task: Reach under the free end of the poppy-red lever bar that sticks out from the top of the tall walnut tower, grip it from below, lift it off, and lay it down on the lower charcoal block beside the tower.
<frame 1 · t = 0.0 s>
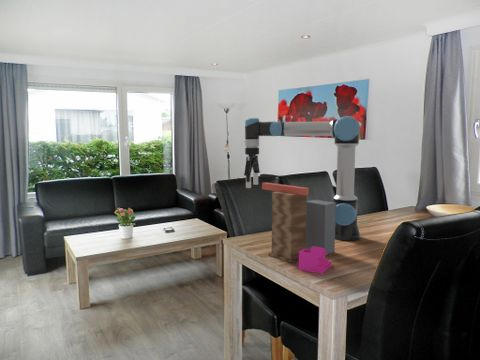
hand: (252, 186, 214), 28 cm above the table, tool pointing down, fingers open, 13 cm apart
lever bar: (284, 191, 181), point 30 cm above the table, touching tower
bracket: (315, 268, 167), on the table
tower: (288, 256, 182), on the table
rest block: (319, 251, 190), on the table
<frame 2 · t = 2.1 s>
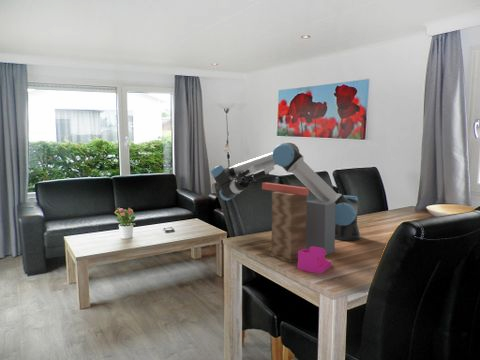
hand: (263, 167, 198), 40 cm above the table, tool pointing upward, fingers open, 13 cm apart
nothing on the table moved.
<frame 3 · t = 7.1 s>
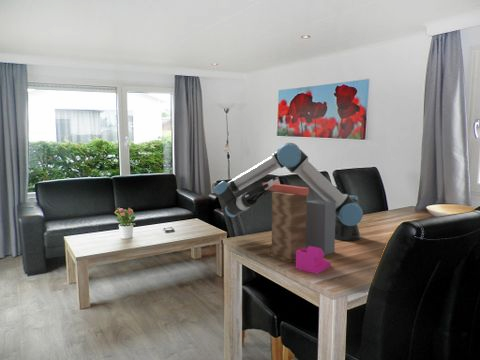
hand: (275, 181, 184), 34 cm above the table, tool pointing upward, fingers closed on lever bar, 3 cm apart
lever bar: (284, 191, 181), point 30 cm above the table, touching gripper, tower
when the fingers open (29 cm above the table, at t = 13.1 s): lever bar stays where it is, resting on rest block.
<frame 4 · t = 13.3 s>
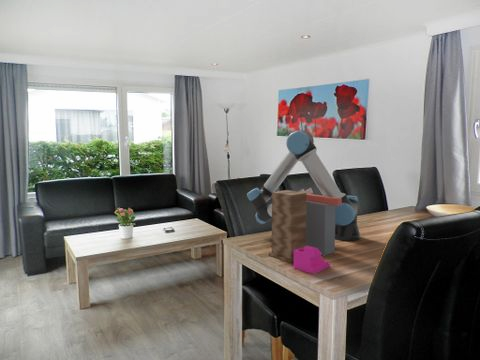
hand: (307, 190, 192), 29 cm above the table, tool pointing upward, fingers open, 5 cm apart
lever bar: (316, 201, 188), point 24 cm above the table, touching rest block
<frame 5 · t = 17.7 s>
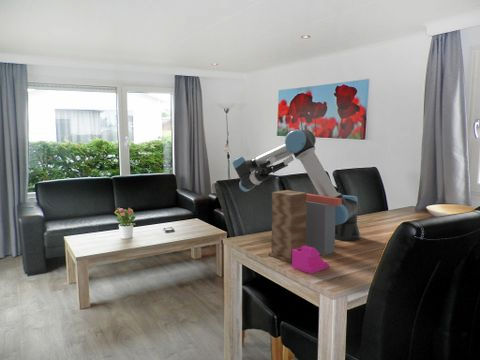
hand: (283, 158, 205), 44 cm above the table, tool pointing upward, fingers open, 13 cm apart
at the end: lever bar inside the target area on the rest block (2.1 cm from its centre), point 24.0 cm above the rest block's base; the gripper is holding nothing; lever bar touching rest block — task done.
